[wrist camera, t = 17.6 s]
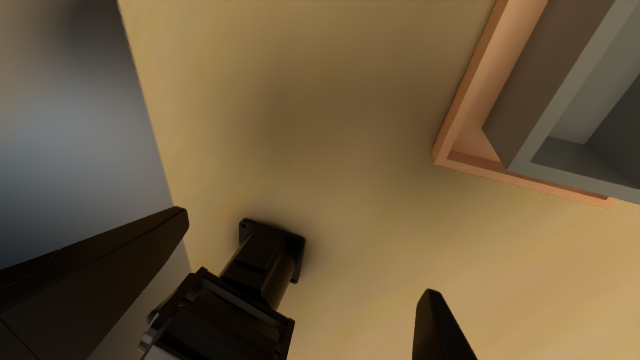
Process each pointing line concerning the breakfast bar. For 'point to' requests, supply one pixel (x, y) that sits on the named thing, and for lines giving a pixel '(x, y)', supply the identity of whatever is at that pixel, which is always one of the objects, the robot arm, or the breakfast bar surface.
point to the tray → (482, 92)
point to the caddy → (575, 100)
